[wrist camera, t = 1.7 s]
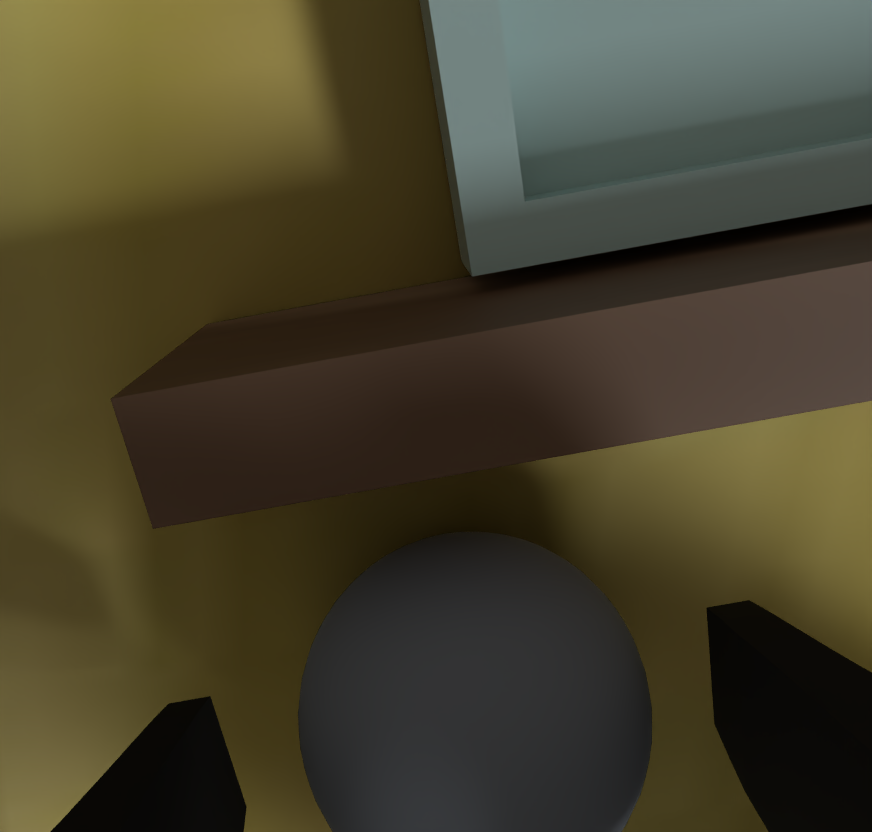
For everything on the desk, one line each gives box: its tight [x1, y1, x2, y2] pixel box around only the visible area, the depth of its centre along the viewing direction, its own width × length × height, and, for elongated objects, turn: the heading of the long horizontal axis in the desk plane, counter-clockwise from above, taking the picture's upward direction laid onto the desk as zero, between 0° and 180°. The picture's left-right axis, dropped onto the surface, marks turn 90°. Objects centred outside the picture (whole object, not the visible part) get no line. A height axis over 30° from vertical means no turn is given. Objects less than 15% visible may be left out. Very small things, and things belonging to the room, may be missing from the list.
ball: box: [298, 532, 652, 832], centre depth 11 cm, size 5×5×5 cm
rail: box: [111, 204, 872, 529], centre depth 10 cm, size 2×14×4 cm, turn 100°
